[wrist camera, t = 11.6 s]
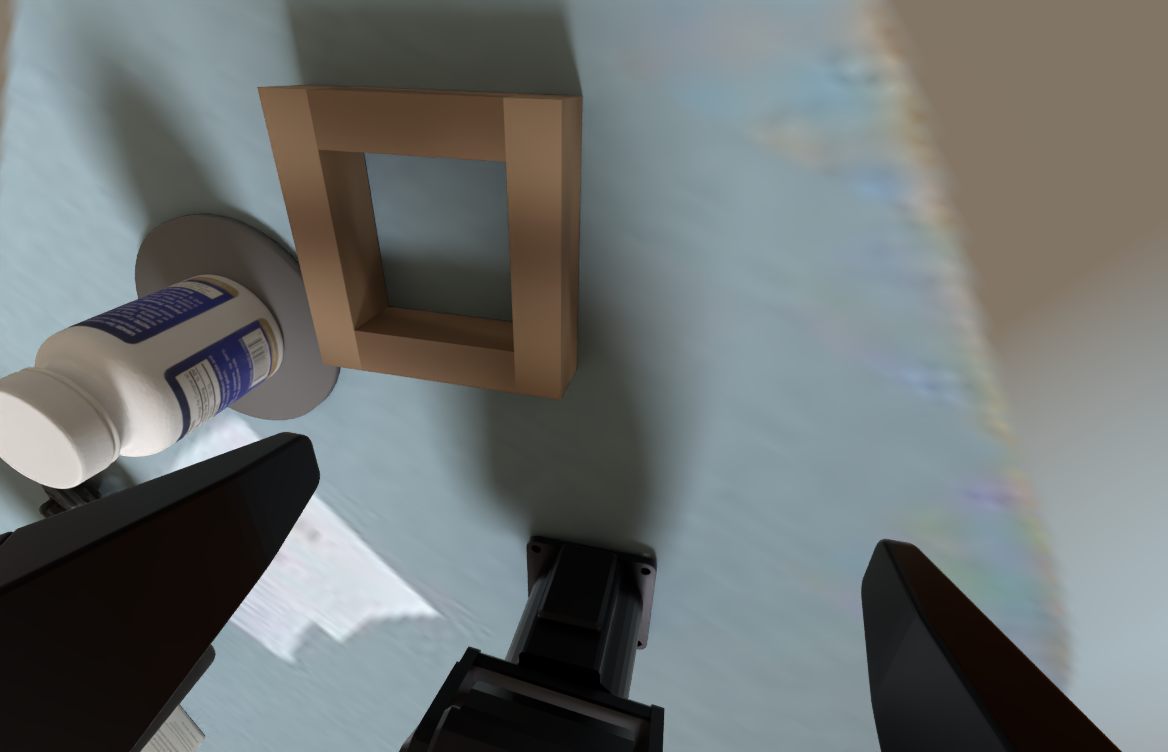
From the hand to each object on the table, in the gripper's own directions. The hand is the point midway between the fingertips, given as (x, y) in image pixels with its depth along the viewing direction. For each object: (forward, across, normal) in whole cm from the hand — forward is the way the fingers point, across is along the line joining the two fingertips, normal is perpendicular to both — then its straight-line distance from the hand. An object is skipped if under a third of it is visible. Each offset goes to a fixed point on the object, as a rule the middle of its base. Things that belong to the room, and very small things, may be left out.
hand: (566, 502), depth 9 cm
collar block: (+13, +8, 0) cm, 15 cm away
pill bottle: (+13, +19, +5) cm, 23 cm away
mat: (+13, +19, +5) cm, 24 cm away
